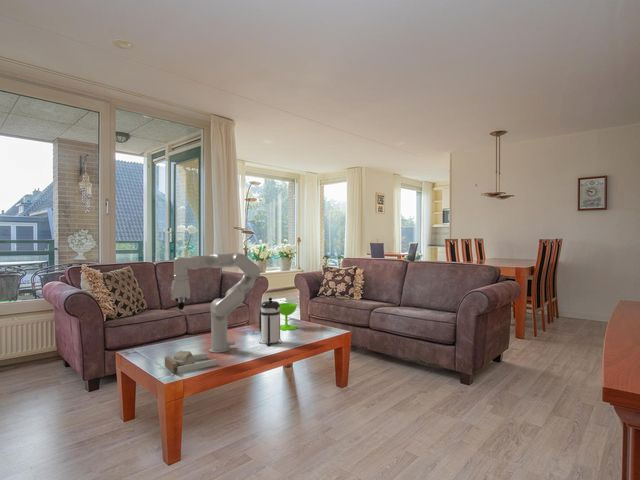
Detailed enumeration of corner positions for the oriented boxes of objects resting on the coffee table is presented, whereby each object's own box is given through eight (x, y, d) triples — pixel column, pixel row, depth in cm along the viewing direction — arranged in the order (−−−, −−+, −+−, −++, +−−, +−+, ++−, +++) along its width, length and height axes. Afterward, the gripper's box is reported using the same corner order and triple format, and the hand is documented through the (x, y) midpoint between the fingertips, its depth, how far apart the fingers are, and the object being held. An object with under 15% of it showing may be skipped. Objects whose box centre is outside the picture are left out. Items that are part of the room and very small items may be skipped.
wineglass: (280, 331, 279) (280, 307, 279) (272, 327, 293) (272, 304, 293) (300, 329, 286) (300, 305, 286) (291, 325, 301) (291, 302, 300)
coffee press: (284, 340, 255) (284, 295, 255) (279, 346, 240) (278, 299, 240) (259, 339, 258) (259, 295, 258) (252, 345, 242) (252, 299, 242)
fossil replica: (194, 369, 199) (196, 365, 208) (195, 353, 199) (197, 349, 209) (170, 369, 196) (173, 365, 206) (171, 353, 197) (174, 349, 206)
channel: (206, 357, 218) (206, 349, 218) (217, 364, 205) (216, 355, 205) (164, 366, 204) (164, 356, 204) (173, 374, 192) (173, 364, 192)
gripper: (191, 276, 231) (191, 307, 231) (165, 278, 222) (165, 309, 222) (195, 277, 225) (195, 308, 225) (169, 279, 216) (169, 311, 216)
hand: (180, 309), depth 223 cm, fingers closed
